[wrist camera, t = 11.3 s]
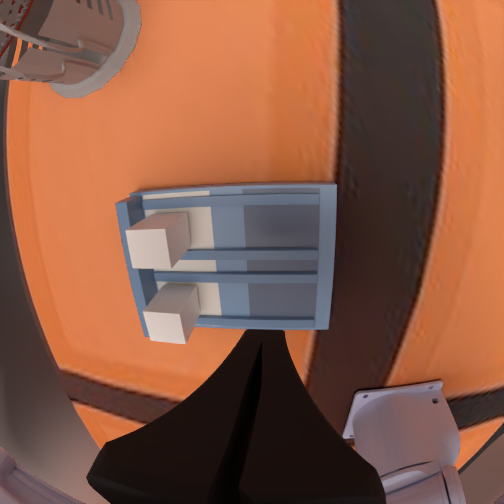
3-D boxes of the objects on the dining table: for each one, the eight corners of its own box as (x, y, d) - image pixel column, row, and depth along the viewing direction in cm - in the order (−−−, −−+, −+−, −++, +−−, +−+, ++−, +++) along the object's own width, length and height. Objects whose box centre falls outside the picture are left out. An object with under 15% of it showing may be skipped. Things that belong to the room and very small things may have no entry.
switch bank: (333, 182, 17) (343, 190, 14) (326, 319, 21) (331, 347, 18) (137, 190, 19) (113, 199, 16) (159, 315, 22) (144, 338, 20)
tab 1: (187, 212, 18) (165, 228, 14) (191, 246, 18) (171, 268, 15) (152, 213, 18) (125, 230, 15) (156, 246, 19) (132, 268, 15)
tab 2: (196, 285, 19) (179, 313, 16) (200, 313, 20) (185, 344, 17) (163, 284, 20) (142, 311, 16) (169, 311, 20) (150, 340, 17)
